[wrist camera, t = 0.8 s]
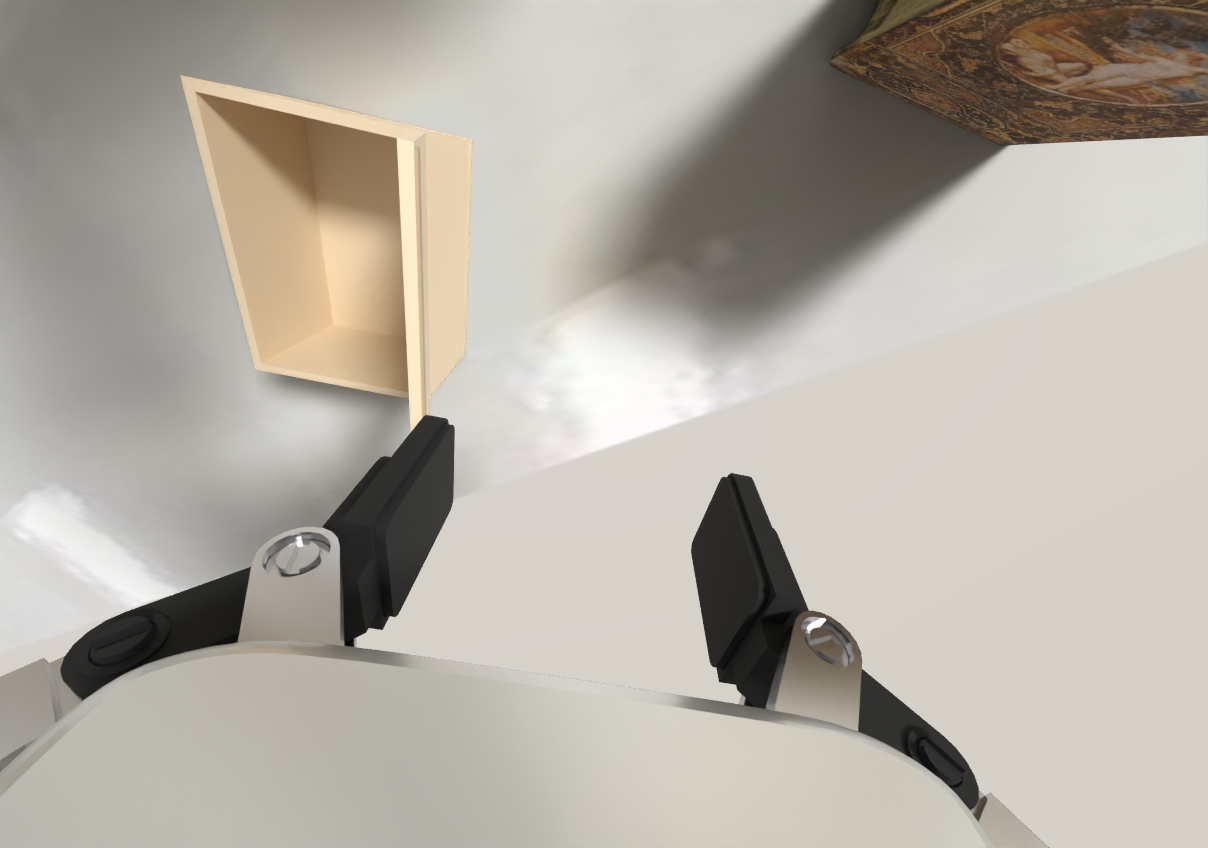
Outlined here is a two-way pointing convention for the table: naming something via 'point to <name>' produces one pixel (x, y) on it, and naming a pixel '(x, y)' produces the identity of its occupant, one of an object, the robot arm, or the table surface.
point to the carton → (331, 235)
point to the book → (1042, 66)
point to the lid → (415, 269)
